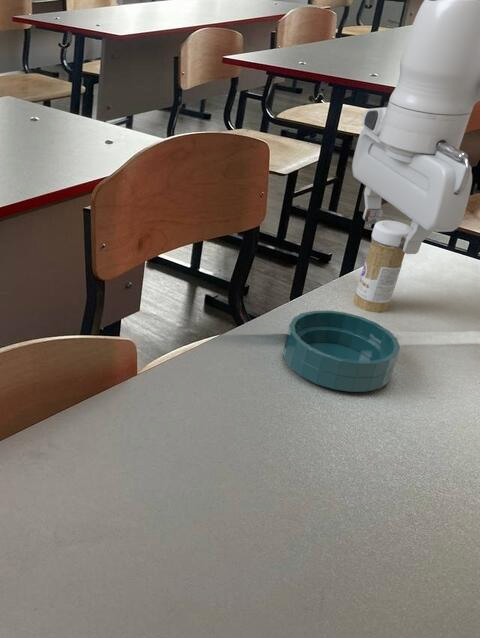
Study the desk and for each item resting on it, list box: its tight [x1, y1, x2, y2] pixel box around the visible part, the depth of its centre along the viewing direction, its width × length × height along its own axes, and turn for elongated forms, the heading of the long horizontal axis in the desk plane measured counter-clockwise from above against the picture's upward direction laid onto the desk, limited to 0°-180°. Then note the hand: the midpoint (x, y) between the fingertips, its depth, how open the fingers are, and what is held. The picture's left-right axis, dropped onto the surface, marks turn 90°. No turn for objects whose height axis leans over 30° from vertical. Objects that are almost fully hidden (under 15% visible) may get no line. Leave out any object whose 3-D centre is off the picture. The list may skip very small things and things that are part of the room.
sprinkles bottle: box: [353, 219, 413, 314], centre depth 100 cm, size 5×5×13 cm
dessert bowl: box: [282, 309, 401, 393], centre depth 92 cm, size 12×12×4 cm
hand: (388, 236), depth 98 cm, fingers open, 8 cm apart
